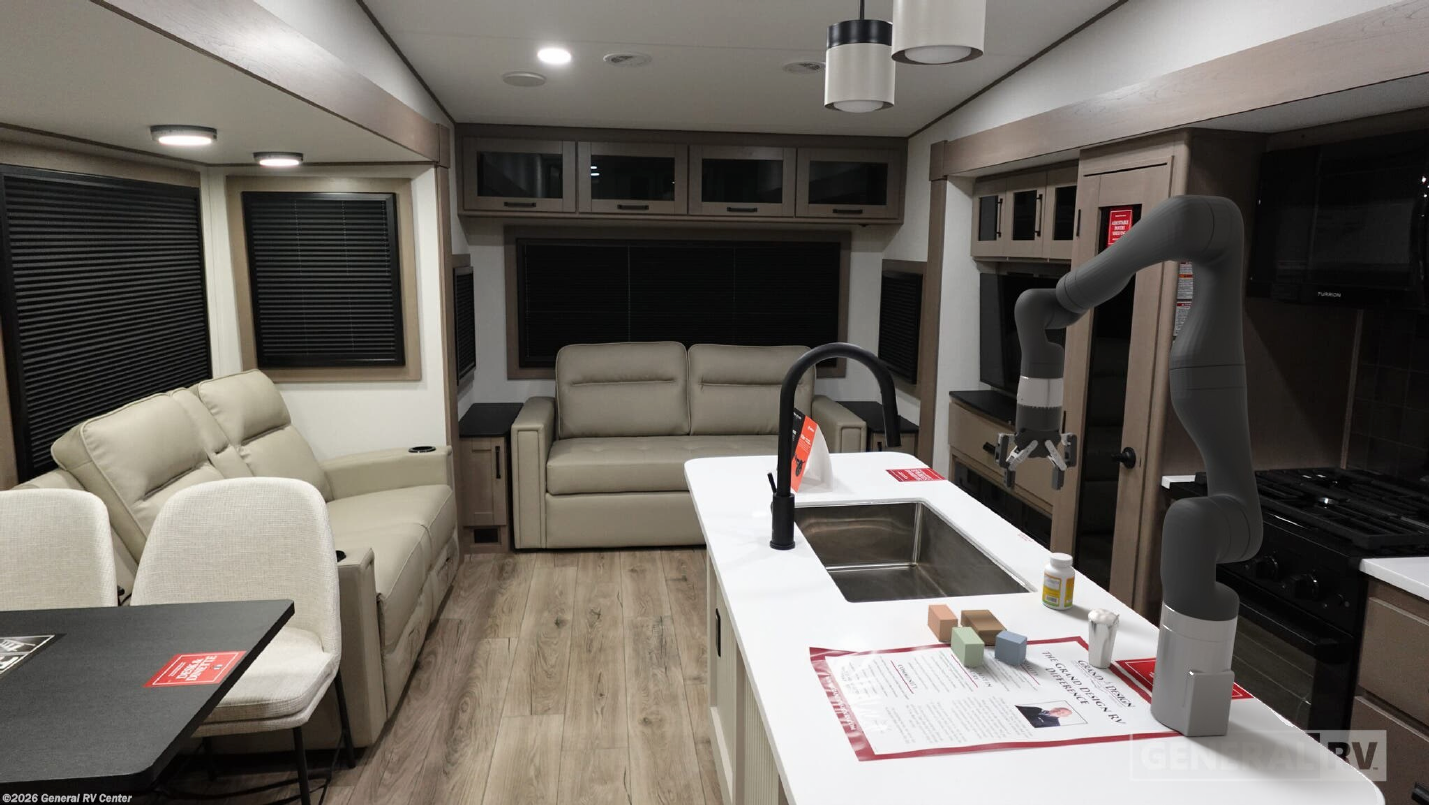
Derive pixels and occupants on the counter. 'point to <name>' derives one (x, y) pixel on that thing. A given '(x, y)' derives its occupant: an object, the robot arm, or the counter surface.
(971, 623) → the walnut block
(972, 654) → the sage brick
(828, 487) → the counter surface
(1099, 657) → the milkshake
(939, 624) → the terracotta brick
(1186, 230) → the robot arm
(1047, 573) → the supplement bottle
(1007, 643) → the slate brick
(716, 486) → the counter surface
